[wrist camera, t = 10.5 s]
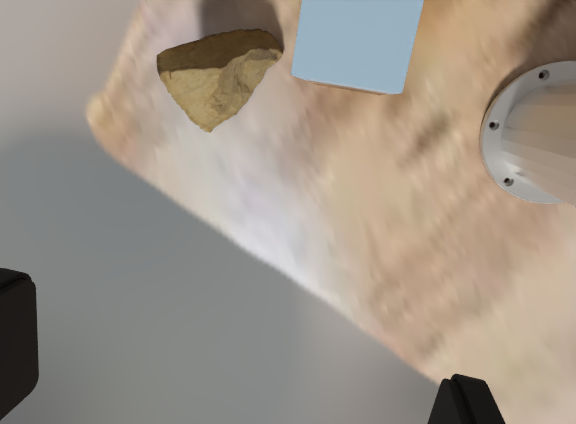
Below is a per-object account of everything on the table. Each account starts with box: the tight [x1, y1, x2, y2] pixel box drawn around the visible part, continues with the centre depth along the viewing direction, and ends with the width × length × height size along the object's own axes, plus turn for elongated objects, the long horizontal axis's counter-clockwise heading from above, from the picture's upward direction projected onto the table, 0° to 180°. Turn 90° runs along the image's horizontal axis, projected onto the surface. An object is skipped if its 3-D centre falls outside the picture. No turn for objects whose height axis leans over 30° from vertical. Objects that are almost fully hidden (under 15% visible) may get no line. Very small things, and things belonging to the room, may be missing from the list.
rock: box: [157, 29, 283, 132], centre depth 37 cm, size 11×9×10 cm
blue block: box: [291, 0, 424, 94], centre depth 23 cm, size 6×6×6 cm
